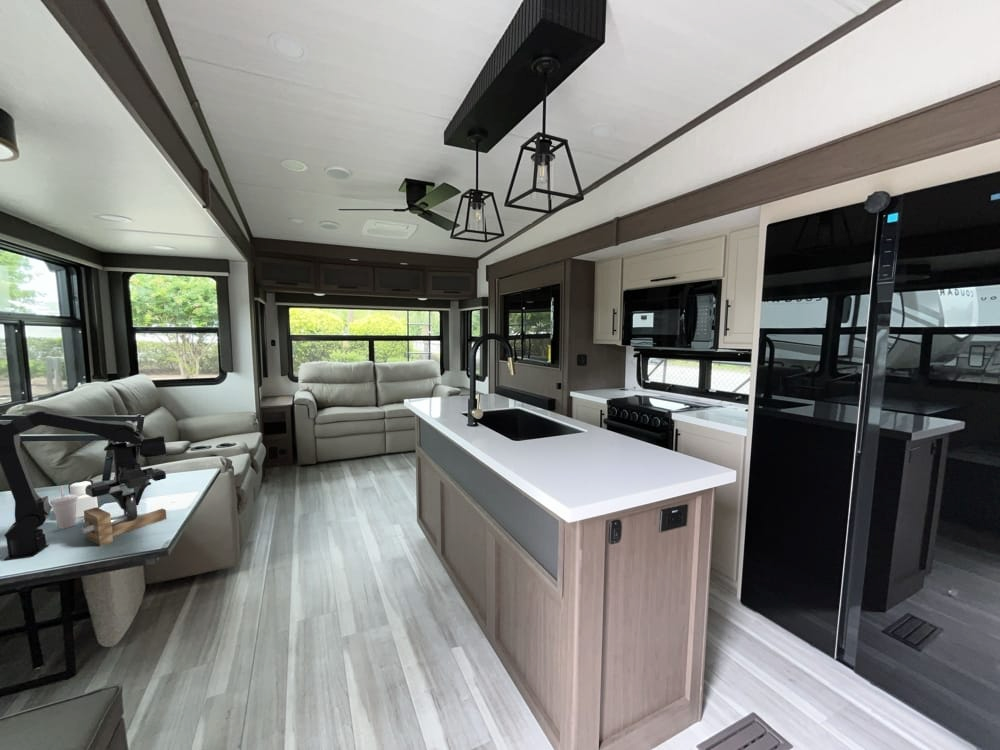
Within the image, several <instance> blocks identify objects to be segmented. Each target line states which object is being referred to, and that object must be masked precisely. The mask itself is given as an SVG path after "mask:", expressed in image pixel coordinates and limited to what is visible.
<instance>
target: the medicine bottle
mask: <svg viewBox="0 0 1000 750" xmlns="http://www.w3.org/2000/svg"><path fill="white" fill-rule="evenodd" d="M91 484H94V480H92V479H81V480H75V481H73V482H71V483H70V484H68V495H78V499H77V506H76V519H79V518H83V517H84V511H85V510H89V509H92V508H96V507H97V508H99V505H98V496H97V497H91V496H89V495H87V494H86V491H85V489H86V487H87V486H88V485H91Z"/></svg>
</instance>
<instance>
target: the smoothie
mask: <svg viewBox="0 0 1000 750" xmlns="http://www.w3.org/2000/svg"><path fill="white" fill-rule="evenodd" d="M59 488H60V496H58V497H55V498H52V499H50V501H49V504H50V505H51V506H52V509H53V512H54V516H55V519H56V523H57V526H58V528H59V529H62V530H63V529H67V528H71V527H73V526H75V525H76V519H77V518H76V506H77V499H78V495H69V494H67V495H64V486H63V485H60V486H59Z"/></svg>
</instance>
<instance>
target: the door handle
mask: <svg viewBox="0 0 1000 750" xmlns="http://www.w3.org/2000/svg"><path fill="white" fill-rule="evenodd" d="M122 496H123V500H124V505H125V509H123V514H122V515H120V516H116V517H113V518H112V517H111V525H114V524H117V523H120V522H123V521H127V520H132V519H135V518H137V517H138V516H139V515H138V505H137V504H136V493H135V492H134V491H130V492H125V493H123V494H122ZM92 531H94V526H93V525H89V526H86V527H85V526H83V527H81V533H82V534H83V535H86V533H89V532H92Z"/></svg>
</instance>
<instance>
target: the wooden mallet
mask: <svg viewBox="0 0 1000 750" xmlns="http://www.w3.org/2000/svg"><path fill="white" fill-rule="evenodd" d="M111 519H112V516H111V513H110V512H107V511H106V510H103V509H101V508H99V507H98V508H97V507H96V508H92V509H89V510H85V511H84V527H86V526H89V525H93V526H94V531H92V532H89V533H86V534H85V535H86V539H87V540H89V541H91V542H93V543H94V544H96V545H98V546H100V547H102V546H104V545H107V544H110V543H113V542H114V537H117V536H119V534H120V535H122V533H123V534H125V533H124V532H126V533H128V532H127V531H129V532H131V531H130V530H132V531H134V530H133V529H135V530H138V529H140V527H141V528H143V526H144V527H146V525H147V526H148V525H152V524H155V523H158V522H161V521H164V520H167V510H166V509H165V508H160V509H157V510H154V511H150V512H147V513H144V514H141V515H138V517H137V518H135V519H132V520H127V521H123V522H120V523H117V524H114V525H111ZM137 528H138V529H137ZM116 535H117V536H116ZM113 536H114V537H113Z"/></svg>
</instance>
